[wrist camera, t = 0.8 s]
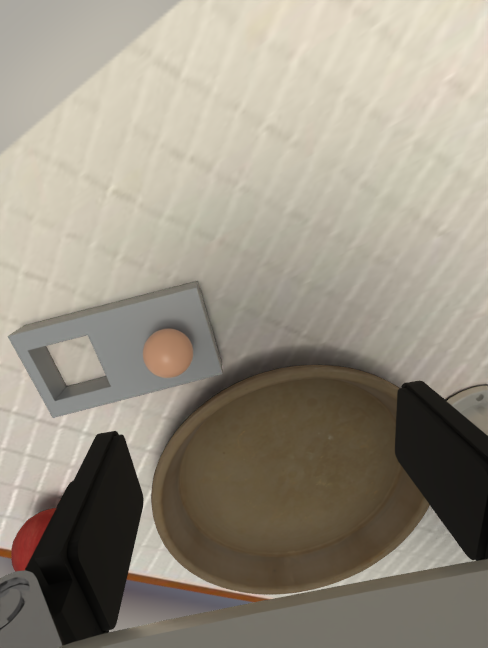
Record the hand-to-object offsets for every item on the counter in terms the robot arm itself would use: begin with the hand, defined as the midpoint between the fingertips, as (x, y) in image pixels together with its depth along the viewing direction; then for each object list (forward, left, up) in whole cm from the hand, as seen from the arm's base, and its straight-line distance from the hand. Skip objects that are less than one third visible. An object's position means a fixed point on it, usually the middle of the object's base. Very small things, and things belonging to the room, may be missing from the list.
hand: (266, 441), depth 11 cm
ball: (-2, +6, -16) cm, 17 cm away
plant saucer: (-23, -2, -21) cm, 31 cm away
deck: (-2, +11, -20) cm, 23 cm away
